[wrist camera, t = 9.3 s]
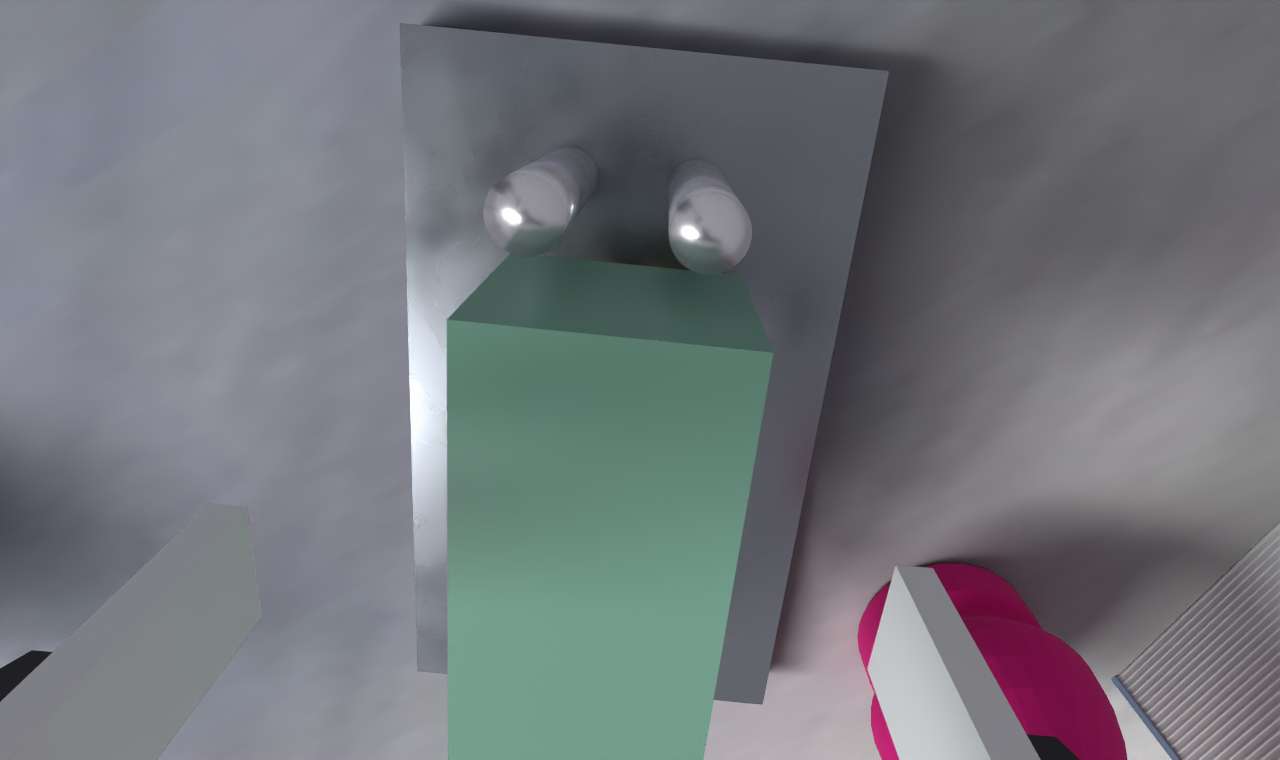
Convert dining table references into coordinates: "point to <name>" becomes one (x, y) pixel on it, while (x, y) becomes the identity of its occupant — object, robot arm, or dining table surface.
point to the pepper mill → (1015, 666)
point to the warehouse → (1217, 668)
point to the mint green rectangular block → (595, 505)
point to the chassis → (635, 241)
